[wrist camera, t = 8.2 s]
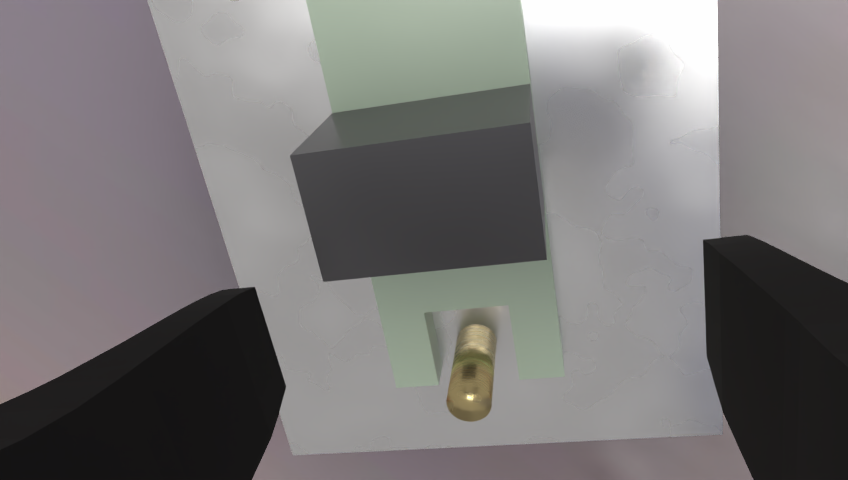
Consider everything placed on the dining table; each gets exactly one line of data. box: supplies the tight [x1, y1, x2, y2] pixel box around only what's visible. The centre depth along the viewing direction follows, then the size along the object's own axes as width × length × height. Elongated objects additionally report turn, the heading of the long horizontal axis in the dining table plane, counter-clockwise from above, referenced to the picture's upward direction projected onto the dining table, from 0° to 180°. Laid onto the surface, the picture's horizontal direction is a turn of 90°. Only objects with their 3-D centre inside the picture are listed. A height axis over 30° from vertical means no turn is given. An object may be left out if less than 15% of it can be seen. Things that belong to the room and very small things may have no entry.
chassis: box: [147, 0, 723, 455], centre depth 18 cm, size 20×14×4 cm
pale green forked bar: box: [290, 0, 565, 388], centre depth 17 cm, size 14×5×4 cm, turn 10°
